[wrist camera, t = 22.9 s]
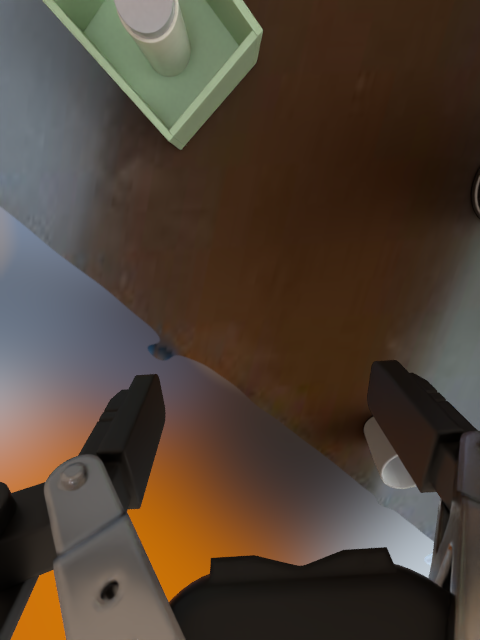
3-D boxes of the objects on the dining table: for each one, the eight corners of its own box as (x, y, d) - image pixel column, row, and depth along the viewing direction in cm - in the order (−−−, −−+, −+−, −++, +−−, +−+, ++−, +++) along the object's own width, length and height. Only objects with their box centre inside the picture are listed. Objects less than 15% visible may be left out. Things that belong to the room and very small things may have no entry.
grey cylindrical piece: (164, 1, 27) (137, -75, 19) (201, 48, 29) (189, -4, 21) (132, 45, 28) (95, -9, 21) (169, 88, 30) (146, 53, 22)
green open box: (154, -81, 25) (130, -165, 19) (256, 62, 30) (263, 30, 23) (77, 35, 28) (35, -7, 22) (180, 150, 32) (168, 141, 26)
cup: (348, 425, 49) (370, 470, 41) (401, 391, 46) (436, 432, 39) (372, 450, 51) (397, 496, 44) (424, 419, 49) (461, 462, 41)
